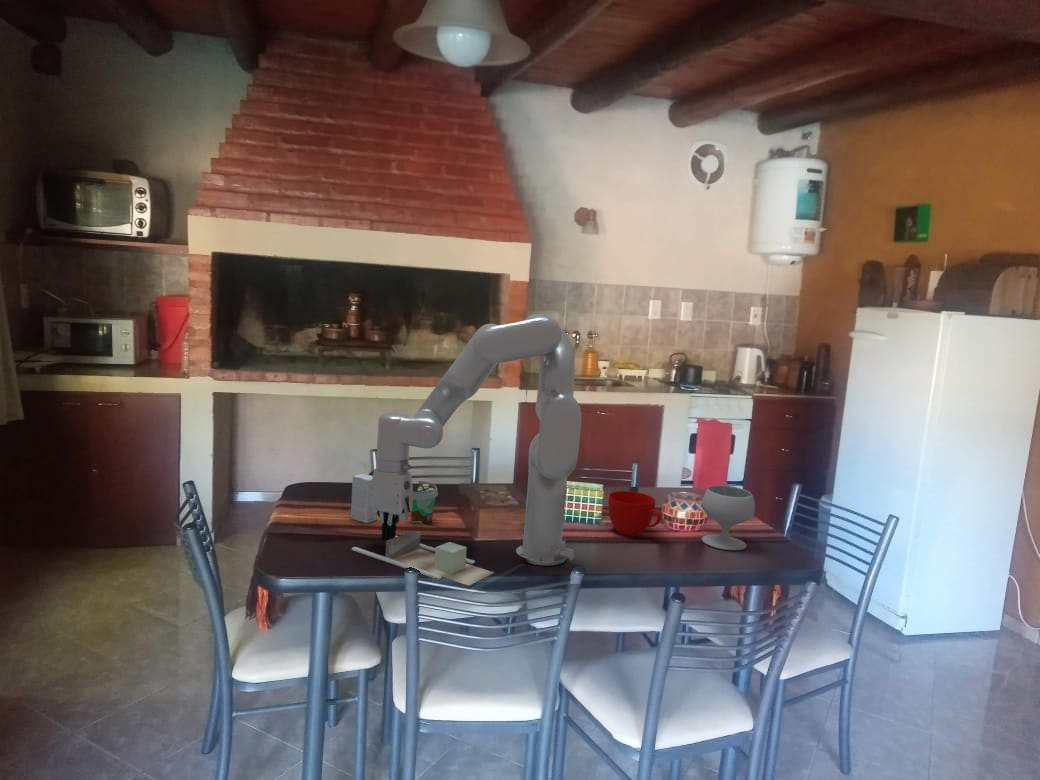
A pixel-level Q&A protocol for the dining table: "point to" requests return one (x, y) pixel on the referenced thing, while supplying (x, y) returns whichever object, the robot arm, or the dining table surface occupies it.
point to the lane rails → (403, 563)
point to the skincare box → (362, 499)
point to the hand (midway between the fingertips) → (388, 539)
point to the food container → (423, 503)
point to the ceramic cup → (632, 512)
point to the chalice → (727, 514)
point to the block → (450, 557)
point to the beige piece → (428, 559)
